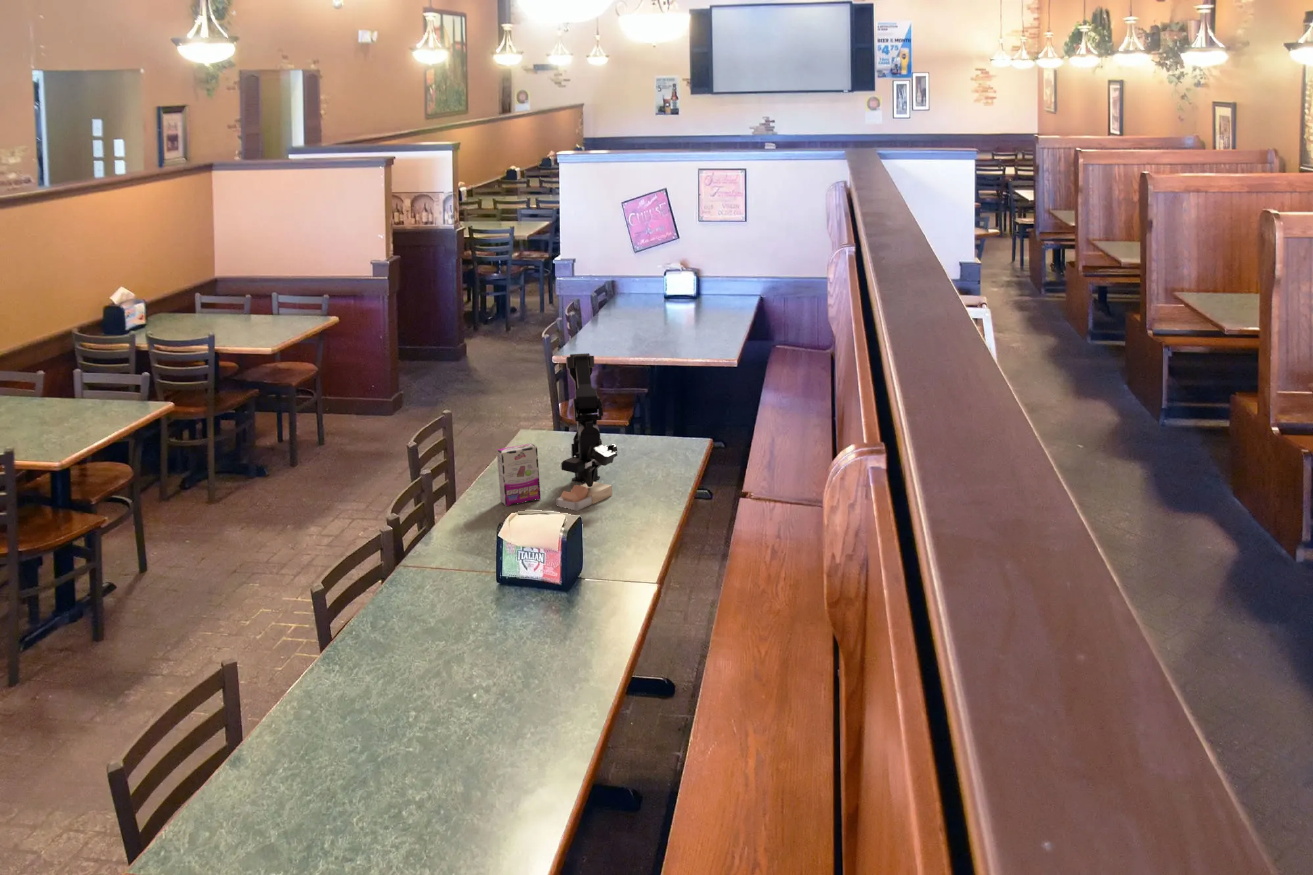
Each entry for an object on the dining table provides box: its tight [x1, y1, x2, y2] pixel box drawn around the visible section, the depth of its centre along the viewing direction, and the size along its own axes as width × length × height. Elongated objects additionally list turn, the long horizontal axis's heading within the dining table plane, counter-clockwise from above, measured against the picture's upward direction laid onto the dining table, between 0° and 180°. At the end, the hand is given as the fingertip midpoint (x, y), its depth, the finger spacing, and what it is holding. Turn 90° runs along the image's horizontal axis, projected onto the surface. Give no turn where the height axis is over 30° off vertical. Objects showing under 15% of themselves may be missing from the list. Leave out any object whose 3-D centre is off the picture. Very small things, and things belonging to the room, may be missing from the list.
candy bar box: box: [496, 443, 542, 507], centre depth 334 cm, size 11×5×16 cm, turn 117°
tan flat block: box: [570, 481, 613, 505], centre depth 338 cm, size 8×9×3 cm
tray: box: [555, 496, 593, 512], centre depth 332 cm, size 8×7×2 cm
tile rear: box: [570, 484, 588, 500], centre depth 333 cm, size 4×4×2 cm
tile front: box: [560, 490, 580, 502], centre depth 330 cm, size 4×4×2 cm
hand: (589, 486), depth 337 cm, fingers closed
